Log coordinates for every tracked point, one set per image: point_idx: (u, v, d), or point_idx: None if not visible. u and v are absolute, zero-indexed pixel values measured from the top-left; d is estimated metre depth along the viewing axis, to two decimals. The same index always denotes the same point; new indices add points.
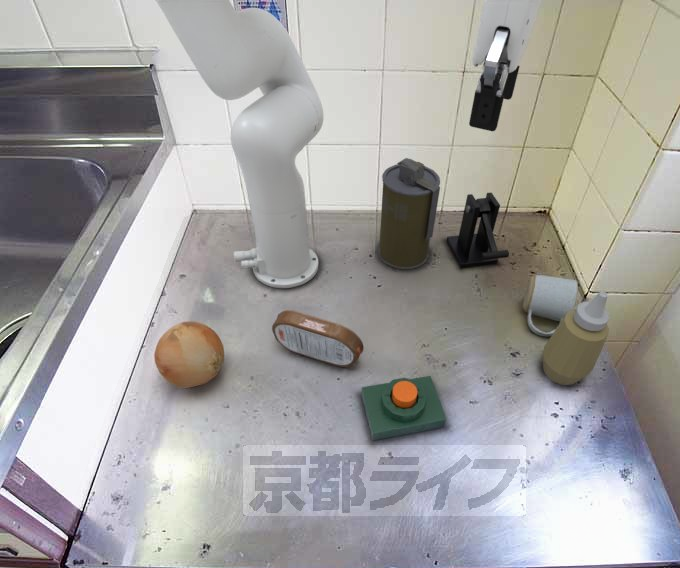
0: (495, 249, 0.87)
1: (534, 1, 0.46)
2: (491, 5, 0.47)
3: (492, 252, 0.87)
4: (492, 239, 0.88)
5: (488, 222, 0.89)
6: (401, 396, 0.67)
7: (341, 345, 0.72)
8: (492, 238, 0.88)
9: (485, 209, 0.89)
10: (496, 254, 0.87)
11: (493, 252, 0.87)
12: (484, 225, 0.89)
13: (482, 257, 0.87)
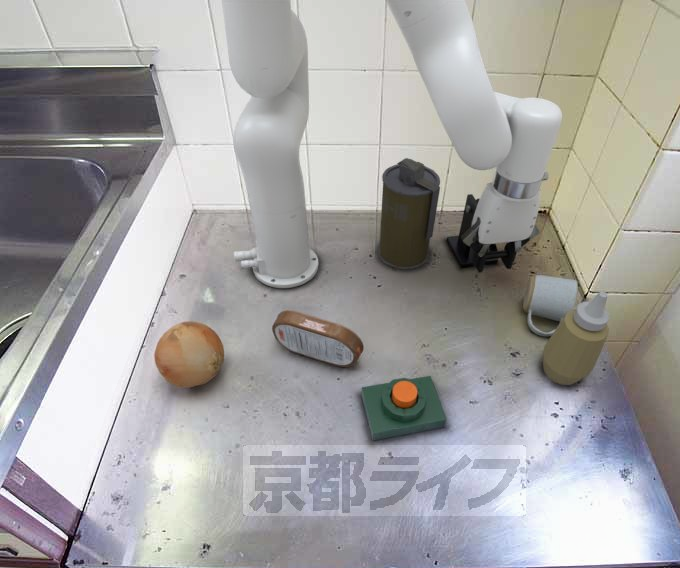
0: (495, 249, 0.87)
1: (495, 214, 0.77)
2: (478, 204, 0.80)
3: (492, 252, 0.87)
4: None
5: None
6: (401, 396, 0.67)
7: (341, 345, 0.72)
8: None
9: None
10: (496, 254, 0.87)
11: (493, 252, 0.87)
12: None
13: None
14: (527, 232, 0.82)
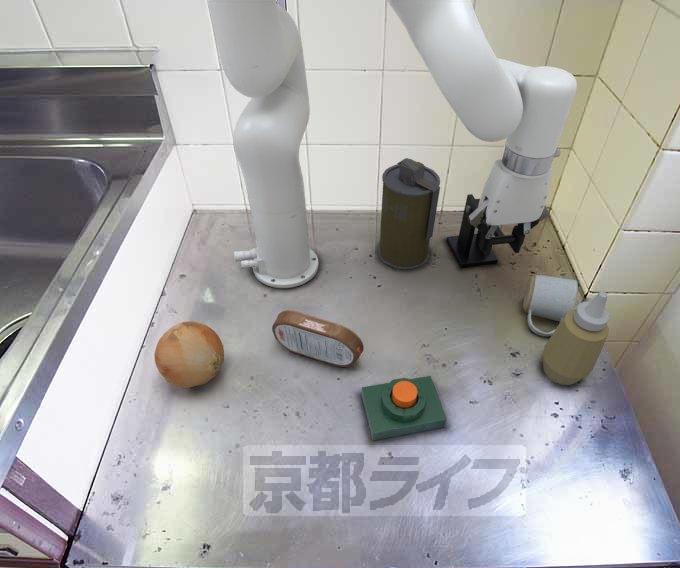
0: (501, 234, 0.84)
1: (504, 192, 0.74)
2: (486, 183, 0.76)
3: (499, 236, 0.84)
4: (497, 227, 0.85)
5: None
6: (401, 396, 0.67)
7: (341, 345, 0.72)
8: None
9: None
10: (503, 237, 0.83)
11: (500, 236, 0.83)
12: None
13: None
14: (537, 213, 0.78)
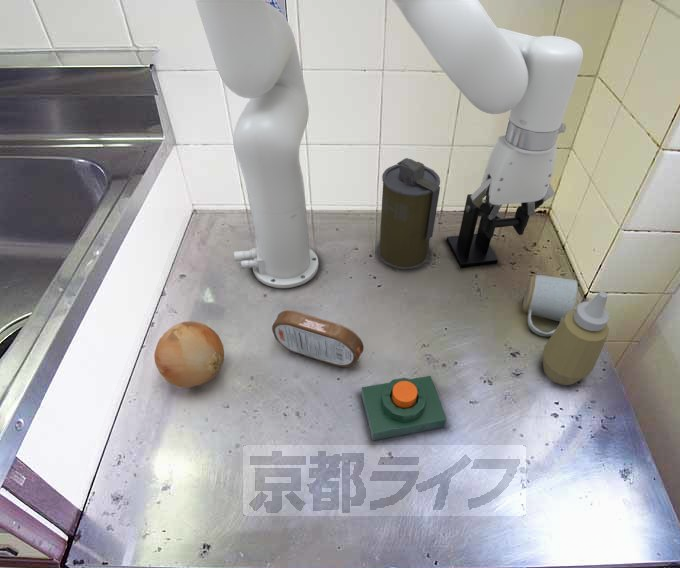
0: (504, 218, 0.82)
1: (508, 169, 0.71)
2: (489, 160, 0.74)
3: (501, 218, 0.82)
4: (498, 215, 0.84)
5: None
6: (401, 396, 0.67)
7: (341, 345, 0.72)
8: (498, 214, 0.84)
9: None
10: (506, 219, 0.81)
11: (503, 218, 0.82)
12: None
13: None
14: (541, 192, 0.76)
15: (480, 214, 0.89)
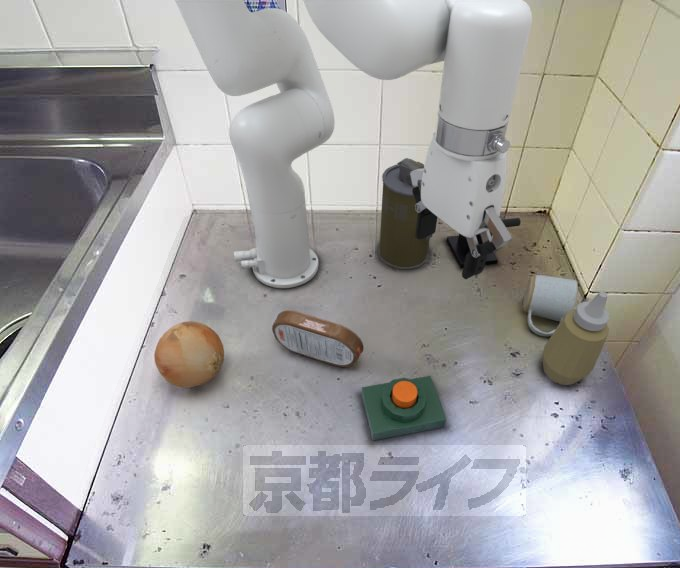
0: (504, 218, 0.82)
1: (429, 161, 0.55)
2: None
3: (501, 219, 0.82)
4: None
5: None
6: (401, 396, 0.67)
7: (341, 345, 0.72)
8: None
9: None
10: (506, 219, 0.81)
11: (502, 219, 0.82)
12: None
13: None
14: (464, 224, 0.55)
15: None
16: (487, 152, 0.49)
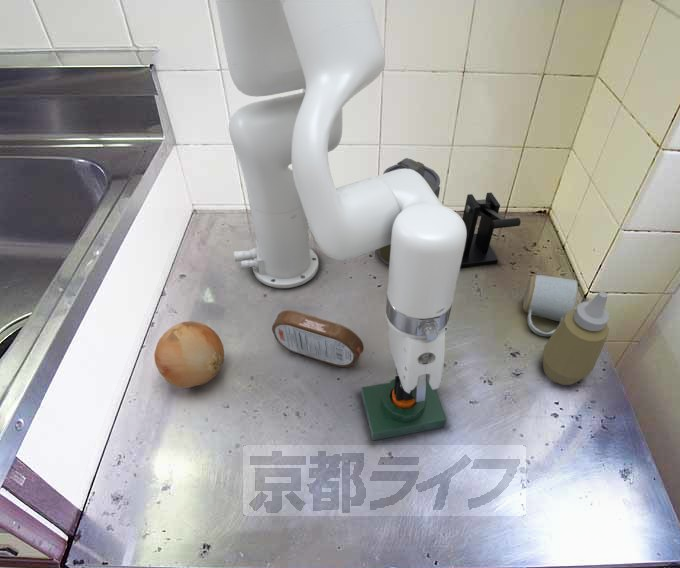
0: (504, 218, 0.82)
1: None
2: None
3: (501, 219, 0.82)
4: (498, 215, 0.84)
5: (491, 210, 0.87)
6: None
7: (341, 345, 0.72)
8: (498, 215, 0.84)
9: (485, 202, 0.89)
10: (506, 219, 0.81)
11: (502, 219, 0.82)
12: (487, 212, 0.87)
13: (492, 225, 0.81)
14: (403, 380, 0.59)
15: (480, 214, 0.89)
16: (420, 334, 0.53)
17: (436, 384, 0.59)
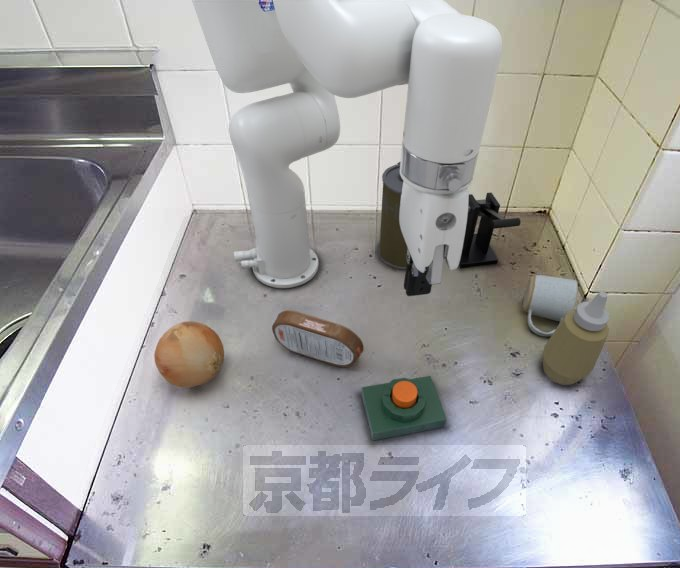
0: (504, 218, 0.82)
1: (404, 183, 0.52)
2: None
3: (501, 219, 0.82)
4: (498, 215, 0.84)
5: (491, 210, 0.87)
6: (401, 396, 0.67)
7: (341, 345, 0.72)
8: (498, 215, 0.84)
9: (485, 202, 0.89)
10: (506, 219, 0.81)
11: (502, 219, 0.82)
12: (487, 212, 0.87)
13: (492, 225, 0.81)
14: (416, 256, 0.51)
15: (480, 214, 0.89)
16: (440, 187, 0.45)
17: (455, 261, 0.51)
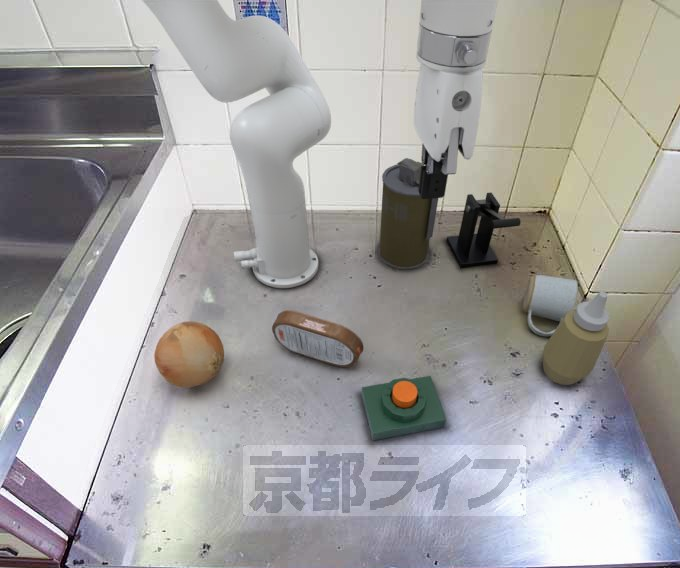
0: (504, 218, 0.82)
1: (419, 77, 0.55)
2: None
3: (501, 219, 0.82)
4: (498, 215, 0.84)
5: (491, 210, 0.87)
6: (401, 396, 0.67)
7: (341, 345, 0.72)
8: (498, 215, 0.84)
9: (485, 202, 0.89)
10: (506, 219, 0.81)
11: (502, 219, 0.82)
12: (487, 212, 0.87)
13: (492, 225, 0.81)
14: (433, 144, 0.54)
15: (480, 214, 0.89)
16: (456, 63, 0.48)
17: (469, 148, 0.54)
